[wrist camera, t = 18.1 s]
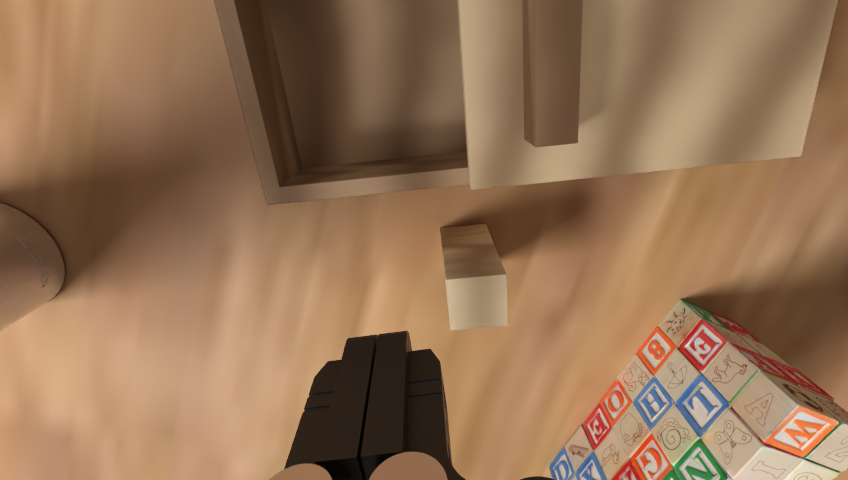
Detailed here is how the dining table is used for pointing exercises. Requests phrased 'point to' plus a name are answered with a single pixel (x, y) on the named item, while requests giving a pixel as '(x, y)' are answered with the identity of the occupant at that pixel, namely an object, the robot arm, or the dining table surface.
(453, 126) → the toolbox
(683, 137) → the lid
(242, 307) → the dining table surface
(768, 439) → the stack of blocks
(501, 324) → the beige wooden block
